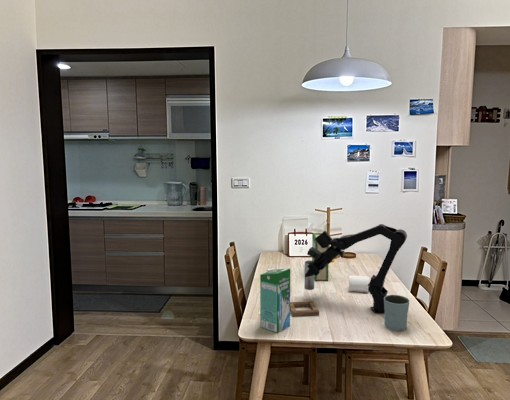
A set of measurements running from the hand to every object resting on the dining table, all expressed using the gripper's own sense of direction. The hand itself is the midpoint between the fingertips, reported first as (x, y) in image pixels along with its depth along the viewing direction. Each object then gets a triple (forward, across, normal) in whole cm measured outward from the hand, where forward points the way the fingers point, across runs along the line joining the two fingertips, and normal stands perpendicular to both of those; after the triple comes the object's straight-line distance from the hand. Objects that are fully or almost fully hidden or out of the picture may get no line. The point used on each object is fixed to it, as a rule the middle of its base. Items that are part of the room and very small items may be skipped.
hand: (306, 274), depth 198 cm
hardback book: (+12, -37, +6) cm, 40 cm away
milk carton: (+10, +36, +7) cm, 38 cm away
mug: (-6, -24, +24) cm, 34 cm away
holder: (+6, +15, +11) cm, 20 cm away
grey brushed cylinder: (+4, 0, +6) cm, 7 cm away
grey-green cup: (-22, +15, +40) cm, 48 cm away
